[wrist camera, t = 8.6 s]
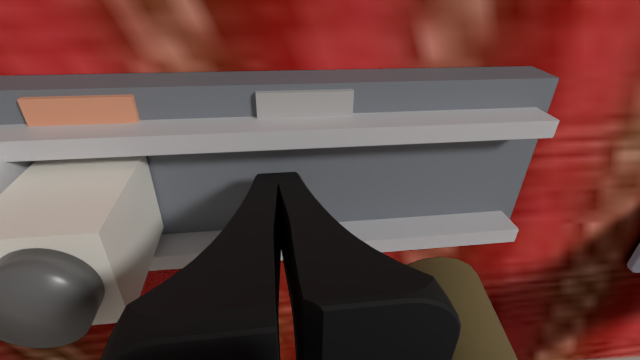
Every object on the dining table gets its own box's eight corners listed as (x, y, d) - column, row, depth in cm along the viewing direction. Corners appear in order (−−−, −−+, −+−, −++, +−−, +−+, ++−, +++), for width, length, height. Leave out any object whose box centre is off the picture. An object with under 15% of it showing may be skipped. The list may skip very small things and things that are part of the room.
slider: (144, 151, 12) (84, 257, 8) (163, 227, 13) (121, 348, 9) (41, 155, 11) (-82, 270, 7) (72, 233, 13) (-13, 362, 9)
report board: (531, 66, 14) (606, 98, 11) (484, 219, 17) (530, 274, 14) (-10, 75, 11) (-103, 119, 9) (66, 249, 15) (19, 321, 12)
